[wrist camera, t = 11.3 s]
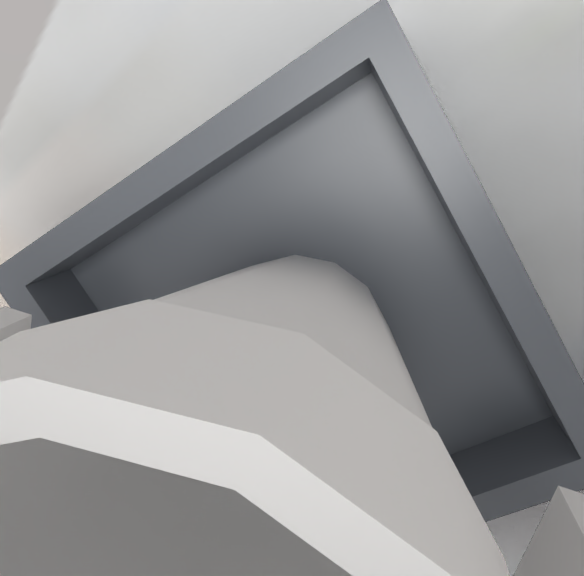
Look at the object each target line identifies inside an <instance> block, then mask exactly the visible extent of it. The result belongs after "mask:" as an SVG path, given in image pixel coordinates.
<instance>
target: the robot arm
mask: <svg viewBox="0 0 584 576" xmlns="http://www.w3.org/2000/svg"><path fill="white" fill-rule="evenodd" d="M31 320H32V315H31V314H28V313H24V312H21V311H18V310H15V309H12V308H9V307H6V306H4V307H2V308H0V341H2V340H4V339H6V338H8V337H10V336H12V335H14V334H16V333H18V332H20V331H24V330H28V329H31ZM513 576H584V494H583V493H580V492H576V491H573V490H570V489H567V488H564V487H561V486H558V487H557V489H556V491H555V493H554V495H553V497H552V499H551V501H550V503H549V505H548V507H547V509H546V511H545V513H544V515H543V517H542V519H541V521H540V523H539V525H538V527H537V529H536V531H535V533H534V535H533V537H532V539H531V541H530V543H529V545H528V547H527V549H526V551H525V553H524V555H523V557H522V559H521V561H520V563H519V565H518V567H517V569H516V571H515V573H514V575H513Z"/></svg>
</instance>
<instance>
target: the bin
mask: <svg viewBox="0 0 584 576" xmlns="http://www.w3.org/2000/svg"><path fill="white" fill-rule="evenodd" d="M292 255H299V256H304V257H309V258H314V259H319V260H324V261H329V262H334V263H336V264H337V265H339V266H340V267H341V268H343V269H344V270H345V271H347V272H348V273H350V274H351V275H352V276H354V277H355V278H356V279H358V280H359V281H360V282H362V283H363V284H364V285H366V286H367V287H368V288H369V290H370V292H371V294H372V296H373V298H374V300H375V302H376V304H377V305H378V307H379V309H380V311H381V313H382V315H383V317H384V319H385V321H386V323H387V324H388V326H389V328H390V331H391V333H392V335H393V338H394V340H395V342H396V345H397V347H398V349H399V352H400V354H401V356H402V359H403V361H404V363H405V365H406V368H407V370H408V372H409V375H410V377H411V379H412V382H413V384H414V386H415V389H416V391H417V393H418V396H419V398H420V400H421V403H422V405H423V407H424V409H425V412H426V414H427V416H428V419H429V421H430V423H431V426H432V428H433V429H435V430H436V431H437V432H438V434H439V436H440V438H441V440H442V442H443V444H444V445H445V447H446V449H447V451H448V453H449V455H450V457H451V459H452V461H453V462H454V464H455V466H456V468H457V470H458V472H459V474H460V476H461V477H462V479H463V481H464V483H465V485H466V487H467V489H468V491H469V493H470V494H471V496H472V498H473V500H474V502H475V504H476V506H477V508H478V510H479V511H480V513H481V515H482V517H483V519H484V521H485V522H487V521H490V520H493V519H496V518H499V517H502V516H505V515H508V514H511V513H514V512H517V511H520V510H523V509H526V508H529V507H532V506H535V505H538V504H541V503H544V502H547V501H550V500H551V499H552V497H553V495H554V493H555V491H556V489H557V487H558V486H561V487H564V488H567V489H570V490H573V491H576V492H577V491H580V490H583V489H584V383H583V381H582V379H581V377H580V375H579V373H578V372H577V370H576V368H575V366H574V364H573V362H572V360H571V358H570V356H569V354H568V352H567V350H566V348H565V346H564V344H563V342H562V340H561V338H560V336H559V334H558V333H557V331H556V329H555V327H554V325H553V323H552V321H551V319H550V317H549V315H548V313H547V311H546V309H545V307H544V305H543V303H542V301H541V299H540V297H539V296H538V294H537V292H536V290H535V288H534V286H533V284H532V282H531V280H530V278H529V276H528V274H527V272H526V270H525V268H524V266H523V264H522V262H521V260H520V258H519V257H518V255H517V253H516V251H515V249H514V247H513V245H512V243H511V241H510V239H509V237H508V235H507V233H506V231H505V229H504V227H503V225H502V223H501V221H500V220H499V218H498V216H497V214H496V212H495V210H494V208H493V206H492V204H491V202H490V200H489V198H488V196H487V194H486V192H485V190H484V188H483V186H482V184H481V182H480V181H479V179H478V177H477V175H476V173H475V171H474V169H473V167H472V165H471V163H470V161H469V159H468V157H467V155H466V153H465V151H464V149H463V147H462V145H461V144H460V142H459V140H458V138H457V136H456V134H455V132H454V130H453V128H452V126H451V124H450V122H449V120H448V118H447V116H446V114H445V112H444V110H443V108H442V106H441V105H440V103H439V101H438V99H437V97H436V95H435V93H434V91H433V89H432V87H431V85H430V83H429V81H428V79H427V77H426V75H425V73H424V71H423V69H422V67H421V66H420V64H419V62H418V60H417V58H416V56H415V54H414V52H413V50H412V48H411V46H410V44H409V42H408V40H407V38H406V36H405V34H404V32H403V30H402V29H401V27H400V25H399V23H398V21H397V19H396V17H395V15H394V13H393V11H392V9H391V7H390V5H389V3H388V1H387V0H380V1H379V2H377V3H376V4H374V5H373V6H372V7H370V8H369V9H367V10H366V11H364V12H363V13H362V14H360V15H359V16H357V17H356V18H354V19H353V20H351V21H350V22H349V23H347V24H346V25H344V26H343V27H341V28H340V29H339V30H337V31H336V32H334V33H333V34H331V35H330V36H329V37H327V38H326V39H324V40H323V41H321V42H320V43H318V44H317V45H316V46H314V47H313V48H311V49H310V50H308V51H307V52H306V53H304V54H303V55H301V56H300V57H298V58H297V59H296V60H294V61H293V62H291V63H290V64H288V65H287V66H285V67H284V68H283V69H281V70H280V71H278V72H277V73H275V74H274V75H273V76H271V77H270V78H268V79H267V80H265V81H264V82H263V83H261V84H260V85H258V86H257V87H255V88H254V89H252V90H251V91H250V92H248V93H247V94H245V95H244V96H242V97H241V98H240V99H238V100H237V101H235V102H234V103H232V104H231V105H230V106H228V107H227V108H225V109H224V110H222V111H221V112H220V113H218V114H217V115H215V116H214V117H212V118H211V119H209V120H208V121H207V122H205V123H204V124H202V125H201V126H199V127H198V128H197V129H195V130H194V131H192V132H191V133H189V134H188V135H187V136H185V137H184V138H182V139H181V140H179V141H178V142H176V143H175V144H174V145H172V146H171V147H169V148H168V149H166V150H165V151H164V152H162V153H161V154H159V155H158V156H156V157H155V158H154V159H152V160H151V161H149V162H148V163H146V164H145V165H143V166H142V167H141V168H139V169H138V170H136V171H135V172H133V173H132V174H131V175H129V176H128V177H126V178H125V179H123V180H122V181H121V182H119V183H118V184H116V185H115V186H113V187H112V188H110V189H109V190H108V191H106V192H105V193H103V194H102V195H100V196H99V197H98V198H96V199H95V200H93V201H92V202H90V203H89V204H88V205H86V206H85V207H83V208H82V209H80V210H79V211H78V212H76V213H75V214H73V215H72V216H70V217H69V218H67V219H66V220H65V221H63V222H62V223H60V224H59V225H57V226H56V227H55V228H53V229H52V230H50V231H49V232H47V233H46V234H45V235H43V236H42V237H40V238H39V239H37V240H36V241H34V242H33V243H32V244H30V245H29V246H27V247H26V248H24V249H23V250H22V251H20V252H19V253H17V254H16V255H14V256H13V257H12V258H10V259H9V260H7V261H6V262H4V263H3V264H1V265H0V293H1V294H2V296H3V297H4V299H5V300H6V302H7V303H8V305H9V306H10V307H11V308H12V309H15V310H18V311H21V312H24V313H28V314H31V315H32V320H31V329H32V328H36V327H40V326H44V325H48V324H52V323H56V322H60V321H64V320H68V319H72V318H76V317H80V316H84V315H88V314H92V313H96V312H100V311H104V310H108V309H112V308H116V307H120V306H124V305H128V304H132V303H136V302H140V301H144V300H148V299H151V300H154V299H157V298H160V297H163V296H166V295H169V294H171V293H174V292H177V291H180V290H183V289H186V288H189V287H192V286H195V285H198V284H200V283H203V282H206V281H209V280H212V279H215V278H218V277H221V276H224V275H226V274H229V273H232V272H235V271H238V270H241V269H244V268H247V267H250V266H253V265H257V264H260V263H264V262H268V261H272V260H276V259H280V258H284V257H288V256H292Z"/></svg>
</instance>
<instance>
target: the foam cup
mask: <svg viewBox="0 0 584 576" xmlns="http://www.w3.org/2000/svg"><path fill="white" fill-rule="evenodd" d="M0 576H510V574H509V571H508V567H507V564H506V561H505V559H504V557H503V555H502V553H501V551H500V549H499V547H498V545H497V543H496V542H495V540H494V538H493V536H492V534H491V532H490V530H489V528H488V526H487V525H486V523H485V521H484V519H483V517H482V515H481V513H480V511H479V510H478V508H477V506H476V504H475V502H474V500H473V498H472V496H471V494H470V493H469V491H468V489H467V487H466V485H465V483H464V481H463V479H462V477H461V476H460V474H459V472H458V470H457V468H456V466H455V464H454V462H453V461H452V459H451V457H450V455H449V453H448V451H447V449H446V447H445V445H444V444H443V442H442V440H441V438H440V436H439V434H438V432H437V431H436V430H435V429H433V428H432V426H431V423H430V421H429V419H428V416H427V414H426V412H425V409H424V407H423V405H422V403H421V400H420V398H419V396H418V393H417V391H416V389H415V386H414V384H413V382H412V379H411V377H410V375H409V372H408V370H407V368H406V365H405V363H404V361H403V359H402V356H401V354H400V352H399V349H398V347H397V345H396V342H395V340H394V338H393V335H392V333H391V331H390V328H389V326H388V324H387V323H386V321H385V319H384V317H383V315H382V313H381V311H380V309H379V307H378V305H377V304H376V302H375V300H374V298H373V296H372V294H371V292H370V290H369V288H368V287H367V286H366V285H364V284H363V283H362V282H360V281H359V280H358V279H356V278H355V277H354V276H352V275H351V274H350V273H348V272H347V271H345V270H344V269H343V268H341V267H340V266H339V265H337V264H336V263H334V262H329V261H324V260H319V259H314V258H309V257H304V256H299V255H292V256H288V257H284V258H280V259H276V260H272V261H268V262H264V263H260V264H257V265H253V266H250V267H247V268H244V269H241V270H238V271H235V272H232V273H229V274H226V275H224V276H221V277H218V278H215V279H212V280H209V281H206V282H203V283H200V284H198V285H195V286H192V287H189V288H186V289H183V290H180V291H177V292H174V293H171V294H169V295H166V296H163V297H160V298H157V299H154V300H151V299H148V300H144V301H140V302H136V303H132V304H128V305H124V306H120V307H116V308H112V309H108V310H104V311H100V312H96V313H92V314H88V315H84V316H80V317H76V318H72V319H68V320H64V321H60V322H56V323H52V324H48V325H44V326H40V327H36V328H32V329H28V330H24V331H20V332H18V333H16V334H14V335H12V336H10V337H8V338H6V339H4V340H2V341H0Z"/></svg>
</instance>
